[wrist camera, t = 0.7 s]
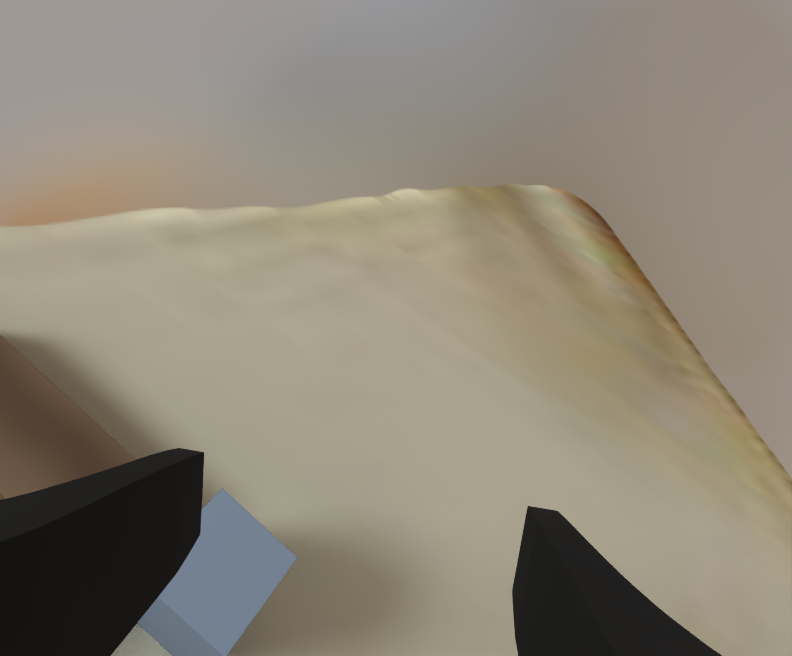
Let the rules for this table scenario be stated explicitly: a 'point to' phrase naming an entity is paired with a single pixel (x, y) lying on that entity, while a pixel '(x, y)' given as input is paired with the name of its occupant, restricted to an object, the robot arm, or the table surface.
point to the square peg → (218, 583)
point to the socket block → (45, 432)
